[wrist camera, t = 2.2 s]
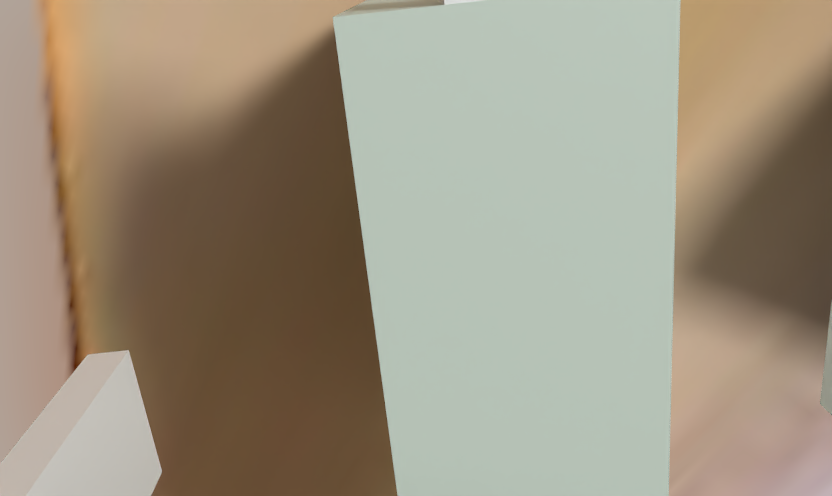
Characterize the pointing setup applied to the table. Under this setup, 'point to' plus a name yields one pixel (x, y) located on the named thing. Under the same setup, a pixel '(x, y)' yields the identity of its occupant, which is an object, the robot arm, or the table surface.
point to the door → (518, 237)
